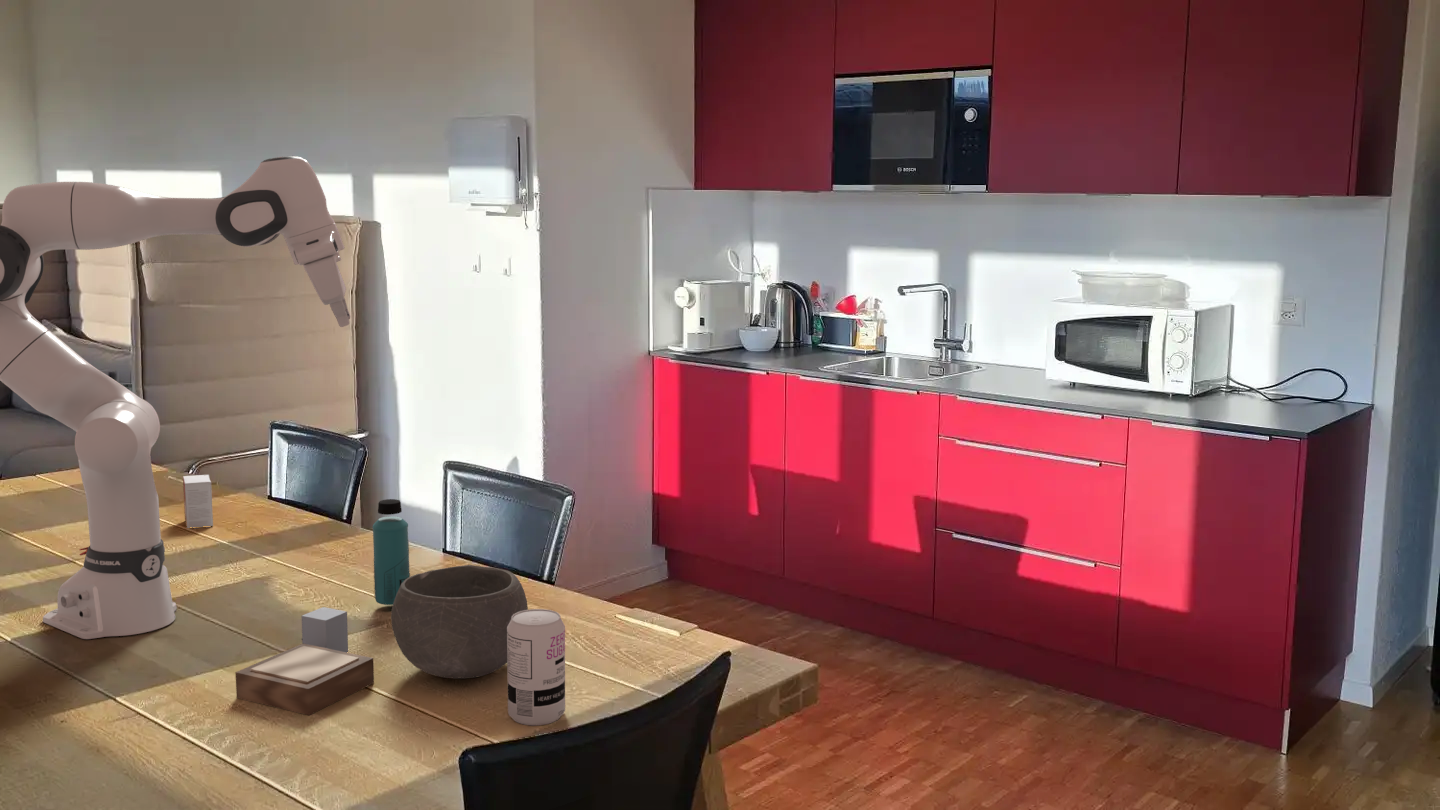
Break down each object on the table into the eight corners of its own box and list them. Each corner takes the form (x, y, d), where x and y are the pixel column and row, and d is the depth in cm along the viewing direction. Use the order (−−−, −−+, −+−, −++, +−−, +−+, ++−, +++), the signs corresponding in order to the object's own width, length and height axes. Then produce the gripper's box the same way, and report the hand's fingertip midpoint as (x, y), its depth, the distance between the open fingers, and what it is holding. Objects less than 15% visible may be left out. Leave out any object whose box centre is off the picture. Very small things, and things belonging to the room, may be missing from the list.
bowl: (463, 708, 187) (462, 610, 184) (363, 678, 198) (361, 585, 195) (555, 665, 204) (555, 575, 202) (459, 639, 215) (457, 554, 213)
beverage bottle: (401, 614, 228) (399, 505, 224) (367, 611, 229) (364, 503, 226) (417, 603, 234) (415, 497, 231) (383, 600, 235) (381, 495, 232)
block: (302, 657, 206) (301, 615, 205) (324, 647, 211) (323, 607, 210) (326, 662, 204) (325, 620, 203) (348, 652, 209) (347, 611, 207)
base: (236, 697, 189) (235, 670, 188) (304, 667, 202) (303, 641, 201) (309, 715, 183) (308, 687, 183) (373, 682, 196) (373, 656, 195)
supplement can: (510, 705, 188) (509, 608, 186) (566, 704, 189) (565, 607, 187) (505, 727, 180) (504, 626, 178) (564, 726, 181) (563, 625, 179)
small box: (184, 521, 289) (182, 475, 287) (211, 518, 291) (209, 473, 289) (186, 529, 281) (183, 483, 280) (213, 527, 284) (211, 481, 282)
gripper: (301, 250, 228) (329, 323, 231) (295, 256, 208) (326, 335, 211) (335, 239, 229) (363, 311, 232) (332, 243, 209) (363, 322, 213)
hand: (345, 323), depth 222 cm, fingers open, 8 cm apart
